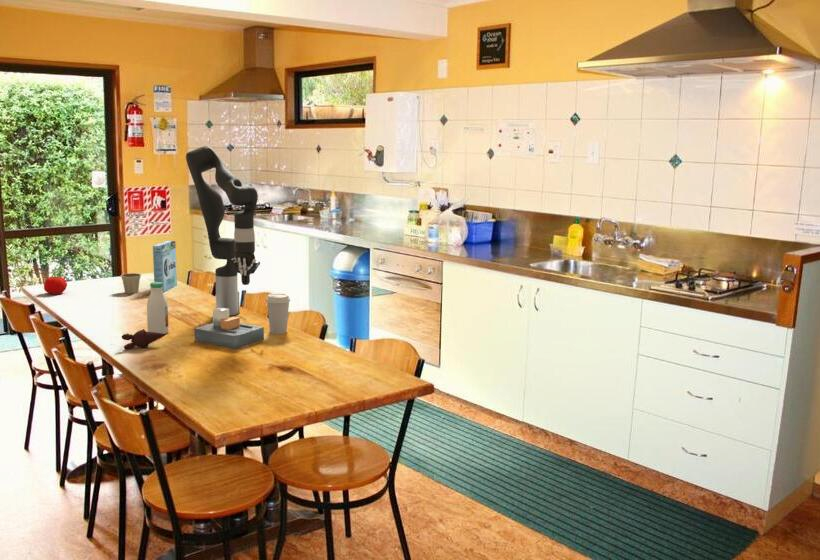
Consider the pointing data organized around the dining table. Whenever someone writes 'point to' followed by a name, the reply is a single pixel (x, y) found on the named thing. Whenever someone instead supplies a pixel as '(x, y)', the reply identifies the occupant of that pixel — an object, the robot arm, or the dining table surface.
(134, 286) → the flower pot
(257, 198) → the robot arm
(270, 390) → the dining table surface
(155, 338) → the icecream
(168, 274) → the gum box
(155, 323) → the milk bottle
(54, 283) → the tomato
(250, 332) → the jig
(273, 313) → the coffee cup
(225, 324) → the block
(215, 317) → the grey white cylinder
